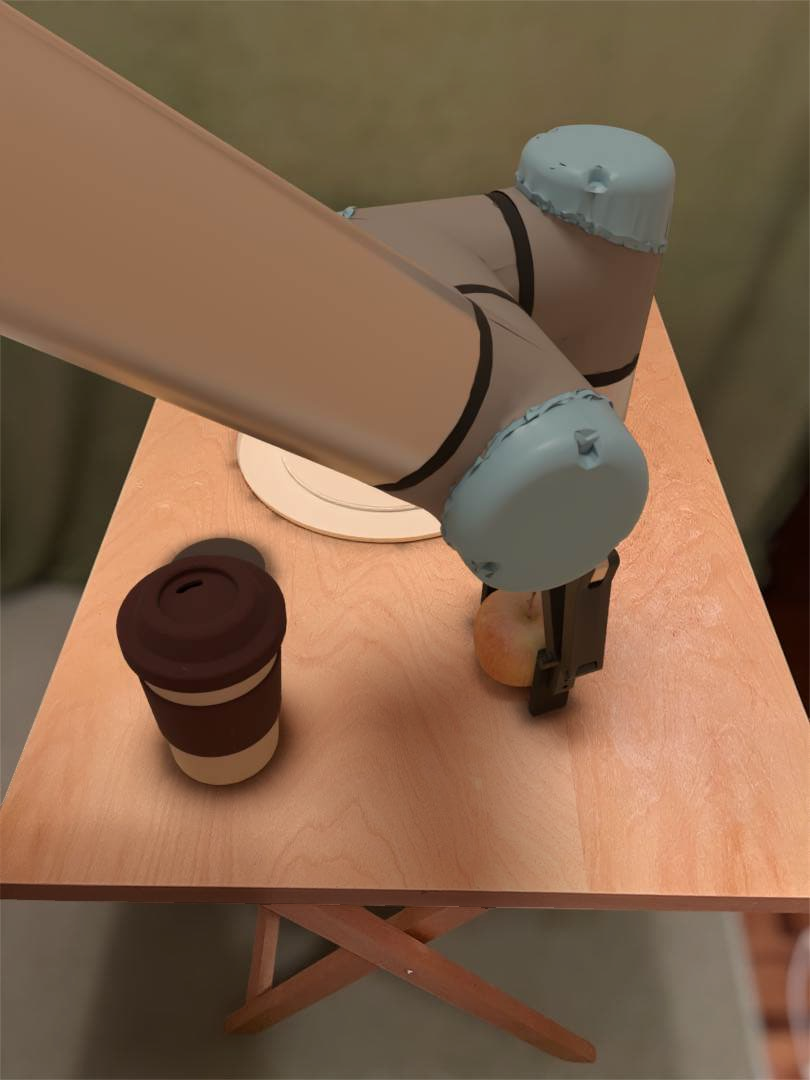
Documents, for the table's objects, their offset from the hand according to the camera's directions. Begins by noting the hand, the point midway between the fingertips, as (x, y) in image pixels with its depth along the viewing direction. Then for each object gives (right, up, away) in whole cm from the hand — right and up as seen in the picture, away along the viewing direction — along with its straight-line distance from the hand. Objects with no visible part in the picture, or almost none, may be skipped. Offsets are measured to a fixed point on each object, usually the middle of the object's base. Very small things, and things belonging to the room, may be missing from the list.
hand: (520, 663), depth 69 cm
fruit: (0, 0, 0) cm, 1 cm away
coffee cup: (-21, -5, -5) cm, 22 cm away
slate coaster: (-24, +6, +6) cm, 26 cm away
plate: (-11, +18, +20) cm, 29 cm away
